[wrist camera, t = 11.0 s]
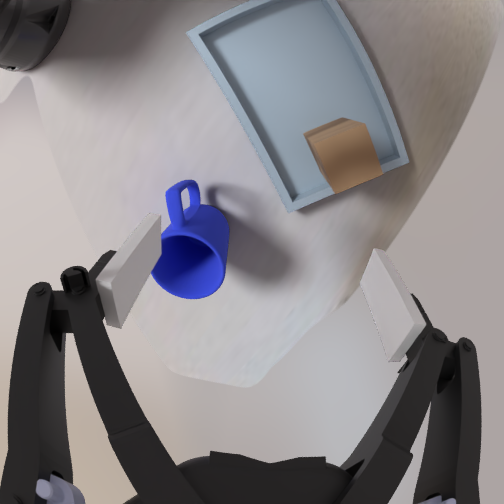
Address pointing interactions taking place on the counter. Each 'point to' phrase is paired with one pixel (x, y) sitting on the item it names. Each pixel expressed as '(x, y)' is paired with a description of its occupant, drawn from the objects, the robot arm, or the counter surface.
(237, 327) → the counter surface
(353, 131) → the walnut block
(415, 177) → the counter surface
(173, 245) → the mug
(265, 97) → the tray
